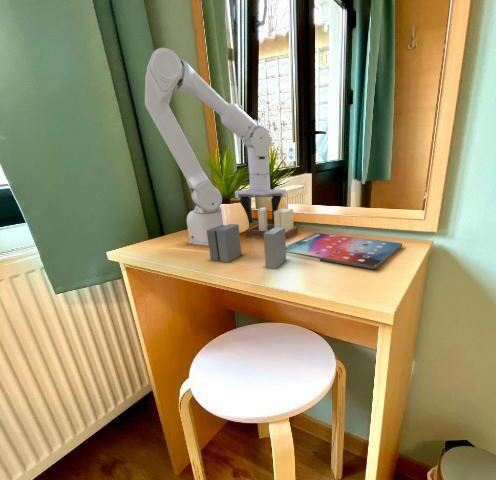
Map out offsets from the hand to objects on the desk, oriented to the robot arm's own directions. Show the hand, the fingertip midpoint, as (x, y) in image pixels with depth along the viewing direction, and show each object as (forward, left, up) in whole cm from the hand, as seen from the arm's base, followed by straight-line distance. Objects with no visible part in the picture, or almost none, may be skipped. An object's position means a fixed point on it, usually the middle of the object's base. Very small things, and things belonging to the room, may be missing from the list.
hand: (262, 222), depth 90 cm
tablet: (+26, -8, -4) cm, 28 cm away
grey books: (+8, -22, -4) cm, 24 cm away
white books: (+7, 0, -3) cm, 8 cm away
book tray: (+3, 0, -4) cm, 5 cm away
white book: (0, 0, -3) cm, 3 cm away
